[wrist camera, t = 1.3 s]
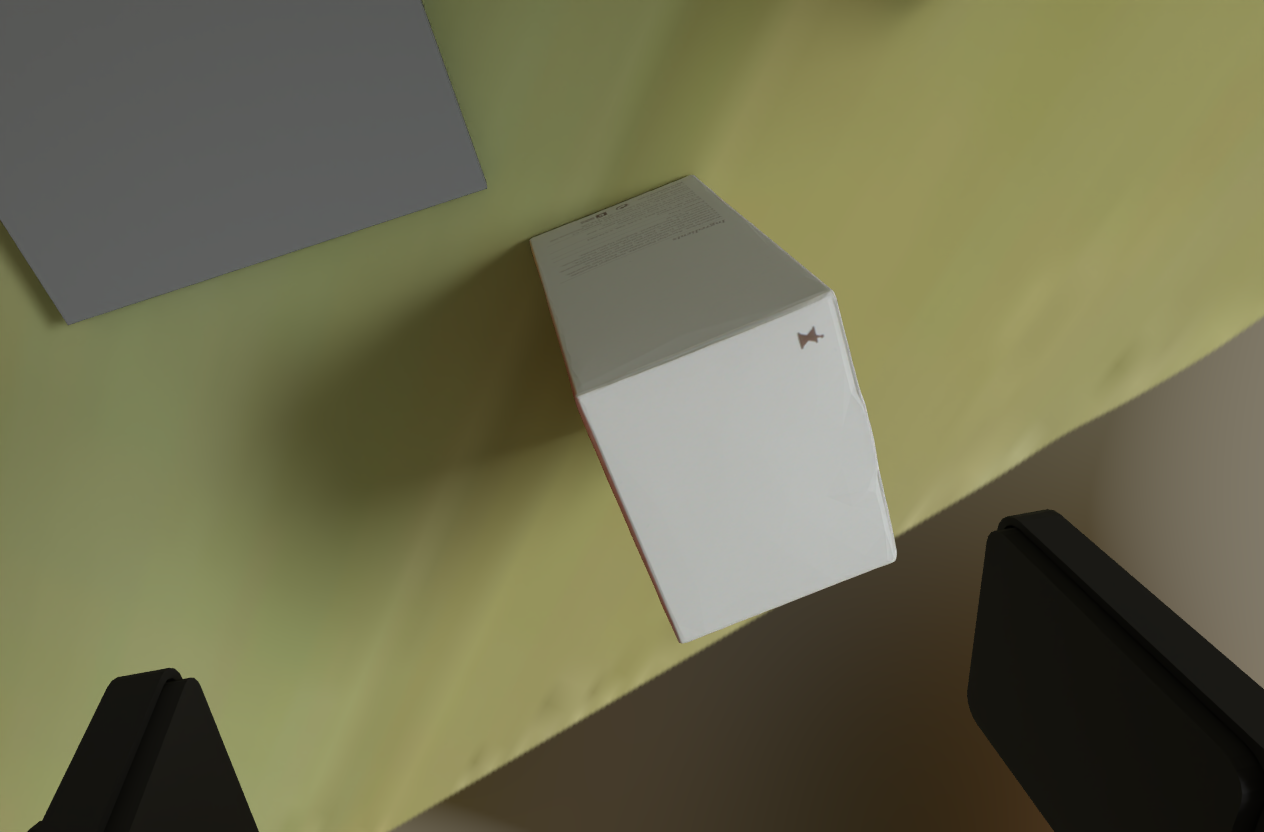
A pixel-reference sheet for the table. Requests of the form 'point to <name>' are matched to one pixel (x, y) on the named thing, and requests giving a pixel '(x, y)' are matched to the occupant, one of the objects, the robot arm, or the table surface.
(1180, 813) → the robot arm
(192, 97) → the rest mat
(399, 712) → the table surface
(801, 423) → the small box
